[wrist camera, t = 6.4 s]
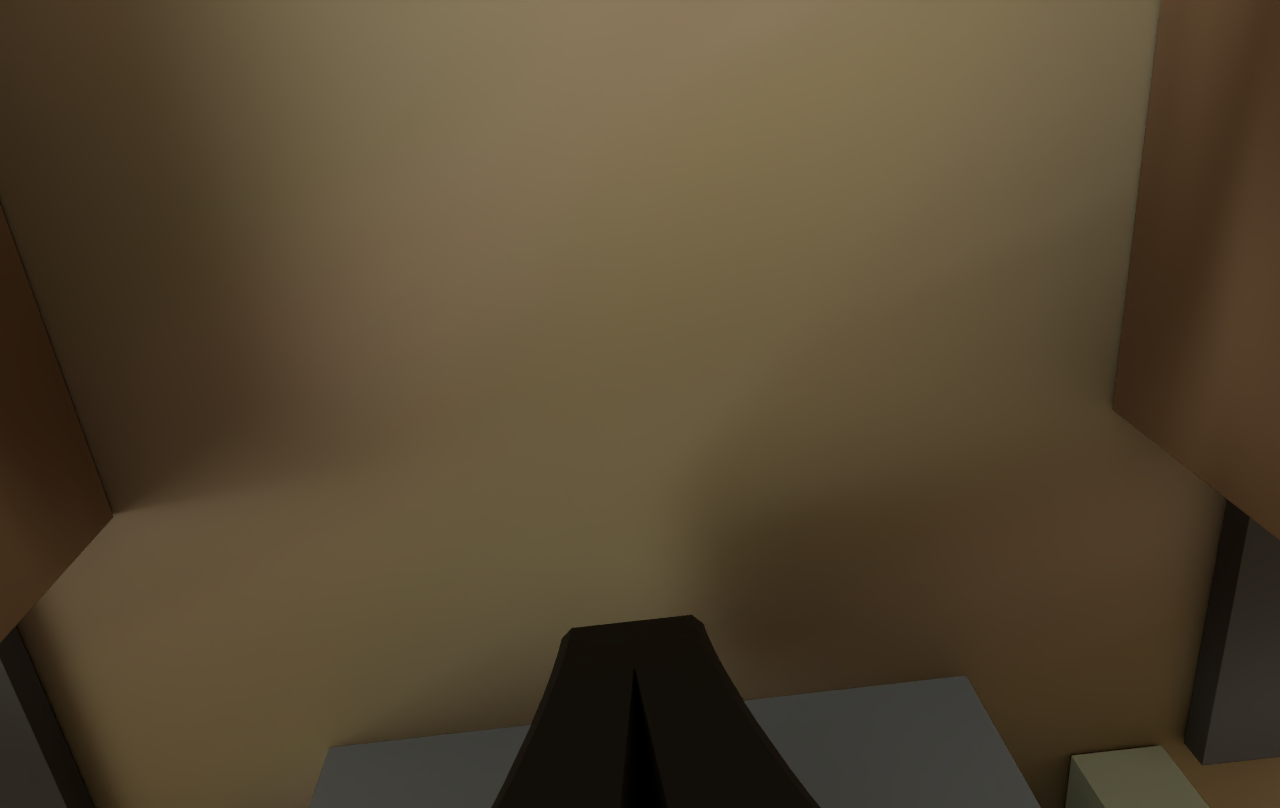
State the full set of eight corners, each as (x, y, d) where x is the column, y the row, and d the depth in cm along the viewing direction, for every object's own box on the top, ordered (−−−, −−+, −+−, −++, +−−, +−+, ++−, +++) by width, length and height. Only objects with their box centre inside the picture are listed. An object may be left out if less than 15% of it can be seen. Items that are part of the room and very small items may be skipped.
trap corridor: (1381, 1007, 15) (1561, 1236, 12) (-21, 1171, 15) (-162, 1445, 12) (1868, -442, 8) (2572, -679, 5) (-872, -182, 7) (-1723, -283, 5)
